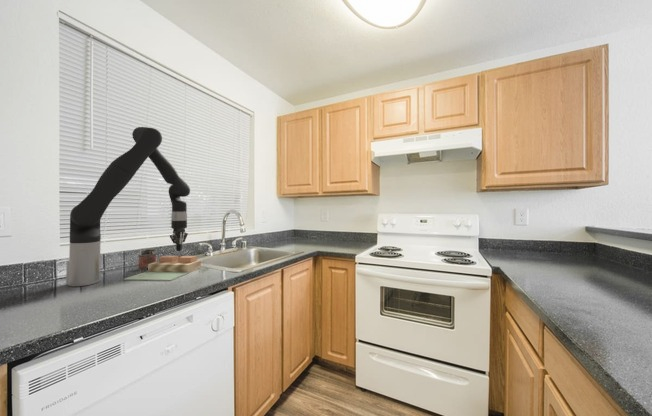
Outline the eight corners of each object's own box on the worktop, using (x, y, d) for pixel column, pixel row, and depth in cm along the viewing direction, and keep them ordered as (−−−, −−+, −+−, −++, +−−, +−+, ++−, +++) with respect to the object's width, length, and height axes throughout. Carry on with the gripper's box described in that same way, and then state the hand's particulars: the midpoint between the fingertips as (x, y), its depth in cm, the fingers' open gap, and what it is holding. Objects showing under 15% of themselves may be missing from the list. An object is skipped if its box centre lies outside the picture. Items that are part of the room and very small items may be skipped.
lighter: (139, 270, 126) (140, 250, 126) (137, 269, 128) (137, 249, 128) (157, 267, 133) (157, 248, 133) (154, 266, 135) (155, 248, 135)
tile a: (158, 262, 127) (158, 257, 127) (165, 260, 132) (165, 255, 132) (172, 262, 127) (172, 257, 127) (178, 260, 132) (178, 255, 132)
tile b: (177, 262, 127) (177, 257, 127) (183, 260, 132) (183, 255, 132) (191, 262, 127) (191, 257, 127) (196, 260, 132) (196, 256, 132)
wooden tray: (147, 272, 122) (148, 264, 122) (164, 266, 134) (164, 259, 134) (187, 273, 121) (187, 265, 121) (200, 267, 133) (200, 260, 133)
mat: (123, 280, 108) (123, 278, 108) (146, 272, 121) (146, 271, 121) (170, 280, 108) (171, 279, 108) (188, 273, 121) (188, 272, 121)
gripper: (180, 219, 144) (179, 248, 144) (164, 220, 131) (164, 252, 131) (192, 219, 144) (192, 248, 144) (178, 220, 131) (178, 252, 131)
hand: (179, 250), depth 138 cm, fingers closed
